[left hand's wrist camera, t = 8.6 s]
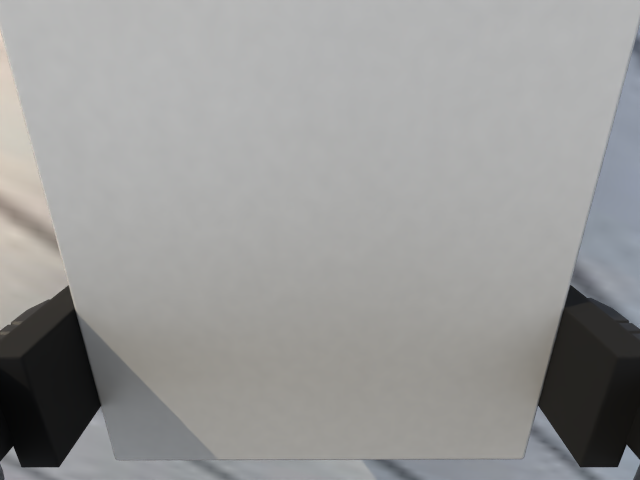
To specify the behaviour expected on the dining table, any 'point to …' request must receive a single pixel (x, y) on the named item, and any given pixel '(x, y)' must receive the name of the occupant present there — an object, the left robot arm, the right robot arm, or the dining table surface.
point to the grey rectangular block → (319, 212)
